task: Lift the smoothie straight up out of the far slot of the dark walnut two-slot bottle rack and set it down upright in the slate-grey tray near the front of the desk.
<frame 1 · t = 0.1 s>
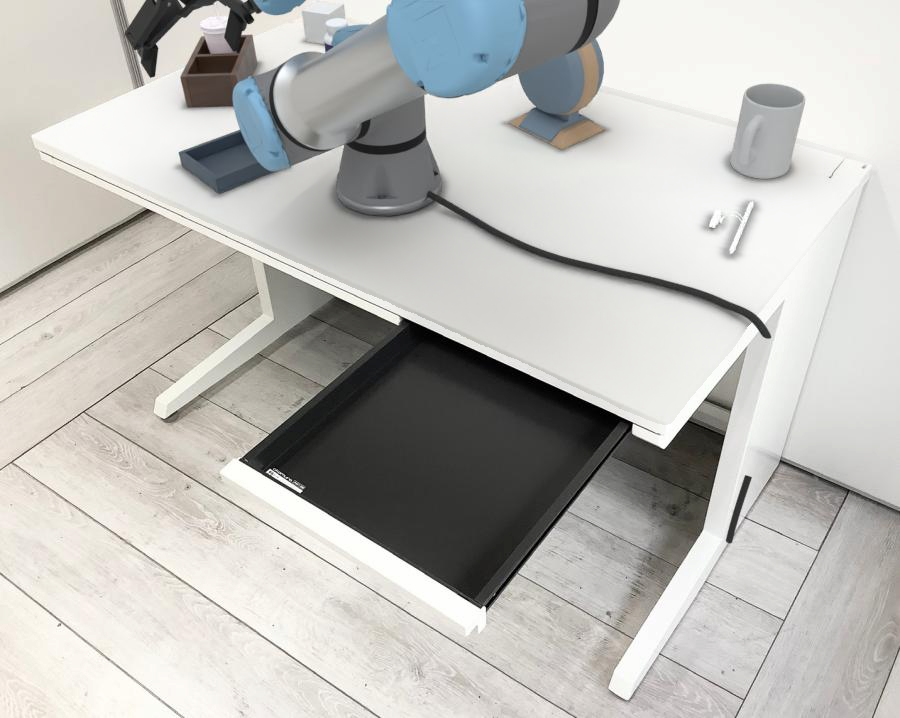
hand: (190, 56, 131), 15 cm above the table, tool tilted 35°, fingers open, 13 cm apart
rack: (223, 84, 160), on the table
white cube: (326, 39, 176), on the table
mug: (754, 170, 132), on the table
alarm clock: (556, 127, 144), on the table
pill bottle: (342, 71, 164), on the table
smoothie: (228, 75, 164), resting in rack
tray: (232, 167, 137), on the table
picture light: (727, 227, 121), on the table
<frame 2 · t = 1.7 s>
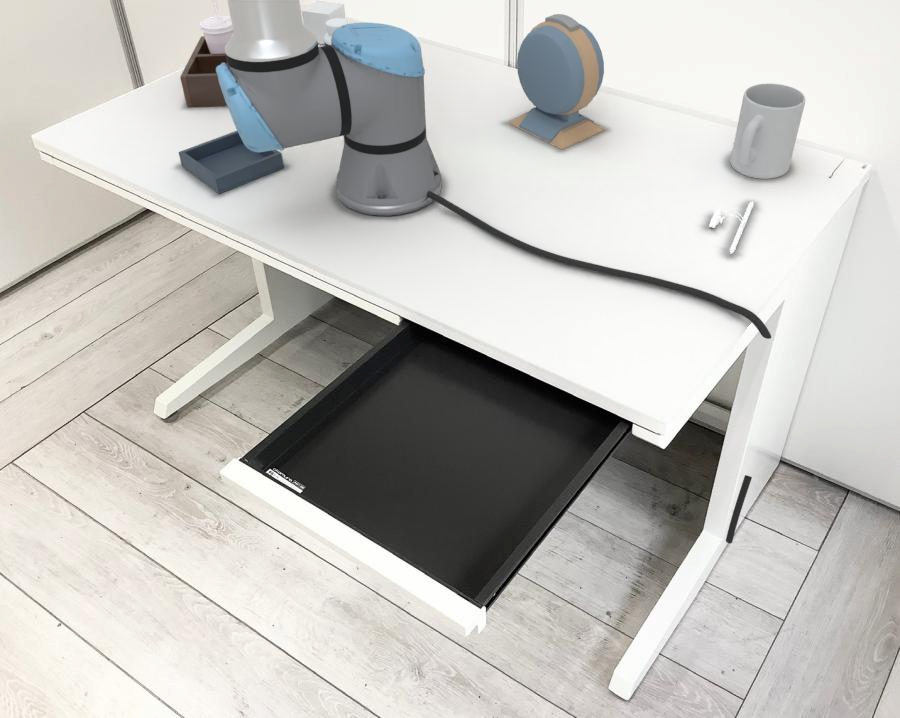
nothing on the table moved.
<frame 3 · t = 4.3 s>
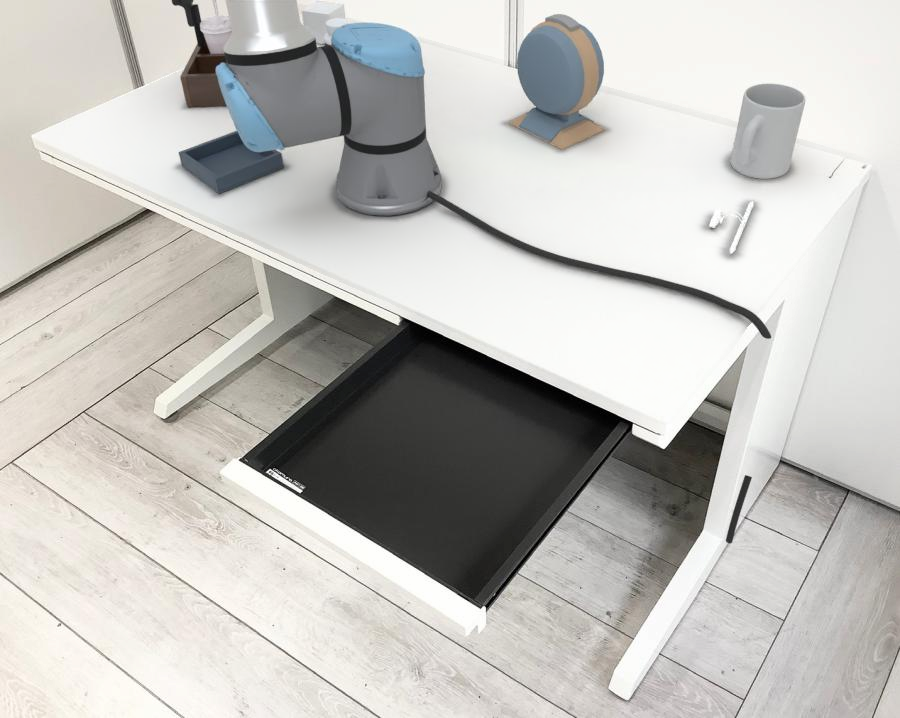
hand: (221, 42, 160), 6 cm above the table, tool pointing down, fingers closed on smoothie, 6 cm apart
smoothie: (228, 75, 164), resting in rack, touching gripper
everything else where it was.
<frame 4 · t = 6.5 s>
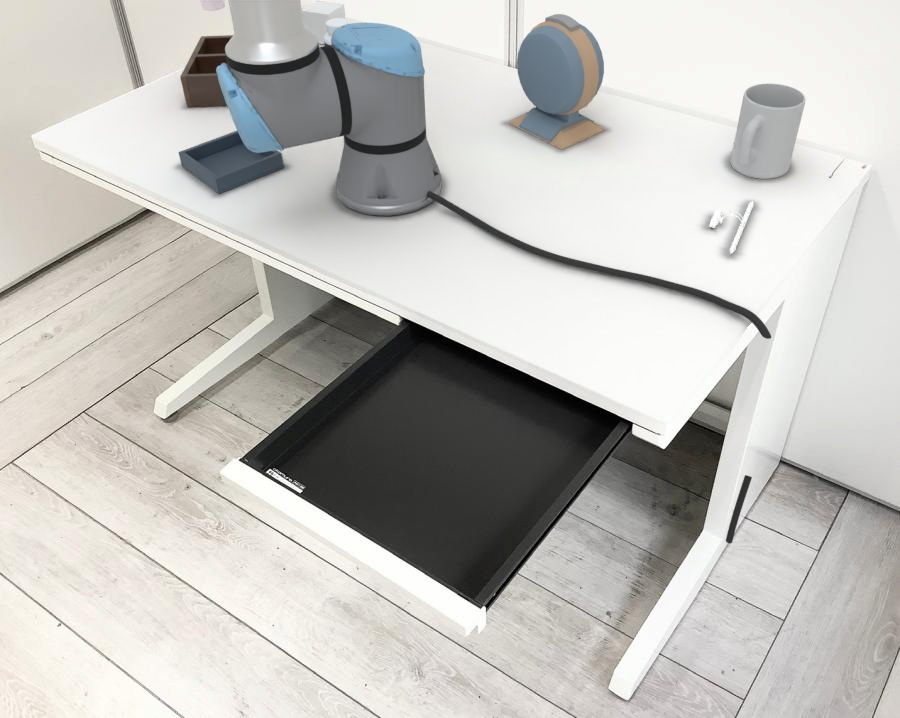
smoothie: (214, 8, 153), point 13 cm above the table, touching gripper
everything else where it was.
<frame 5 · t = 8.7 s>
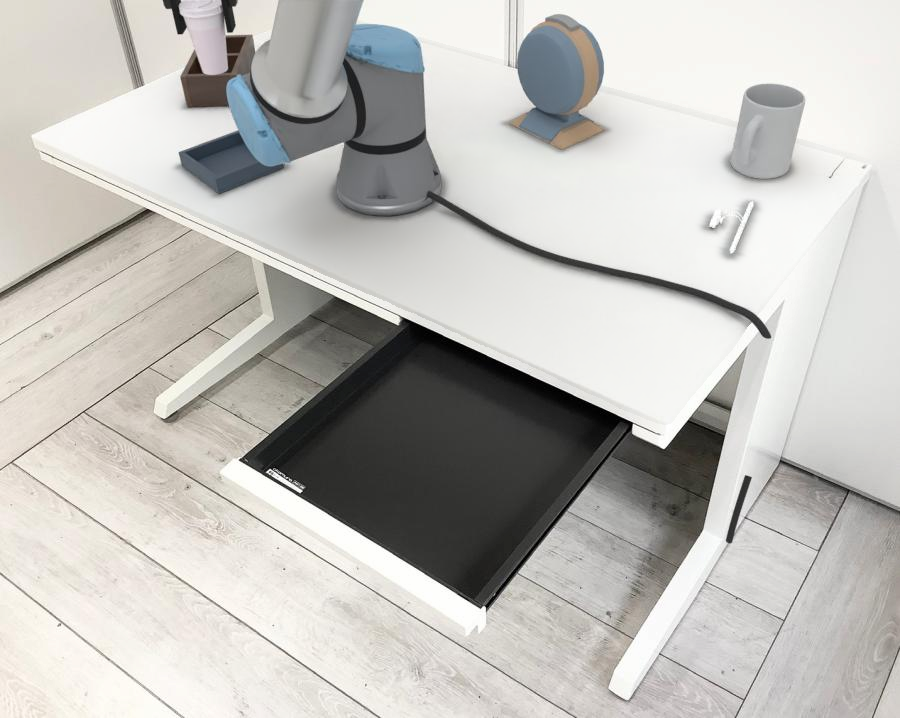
hand: (206, 29, 127), 20 cm above the table, tool pointing down, fingers closed on smoothie, 6 cm apart
smoothie: (215, 71, 131), point 14 cm above the table, touching gripper
everything else where it was.
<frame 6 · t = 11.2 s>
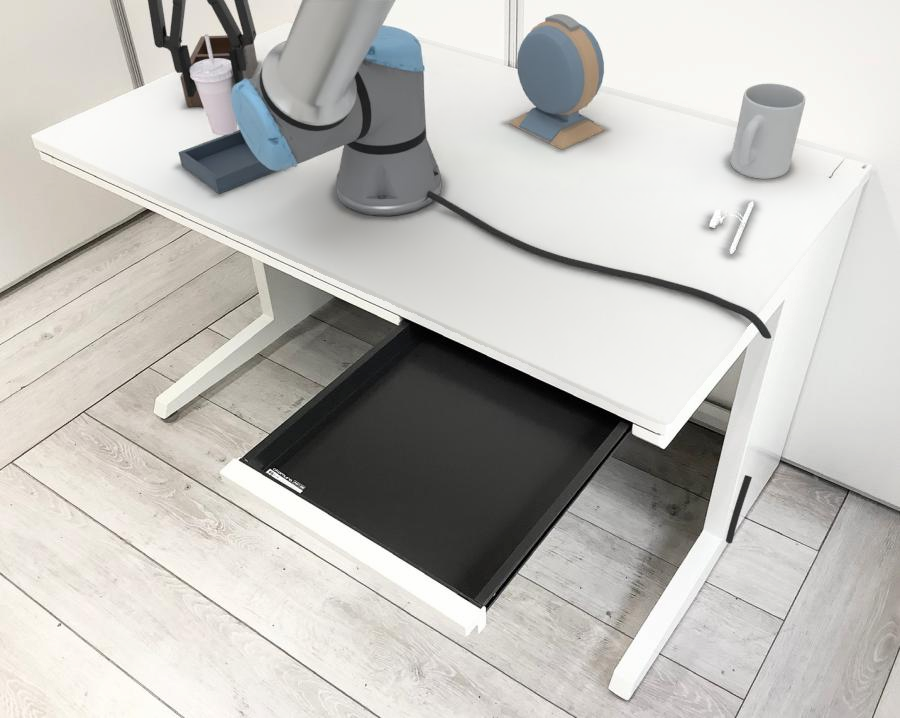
hand: (216, 91, 129), 12 cm above the table, tool pointing down, fingers closed on smoothie, 6 cm apart
smoothie: (225, 130, 133), point 6 cm above the table, touching gripper
everything else where it was.
when the fingers open (6 cm above the table, at t = 13.2 s): smoothie stays where it is, resting on tray.
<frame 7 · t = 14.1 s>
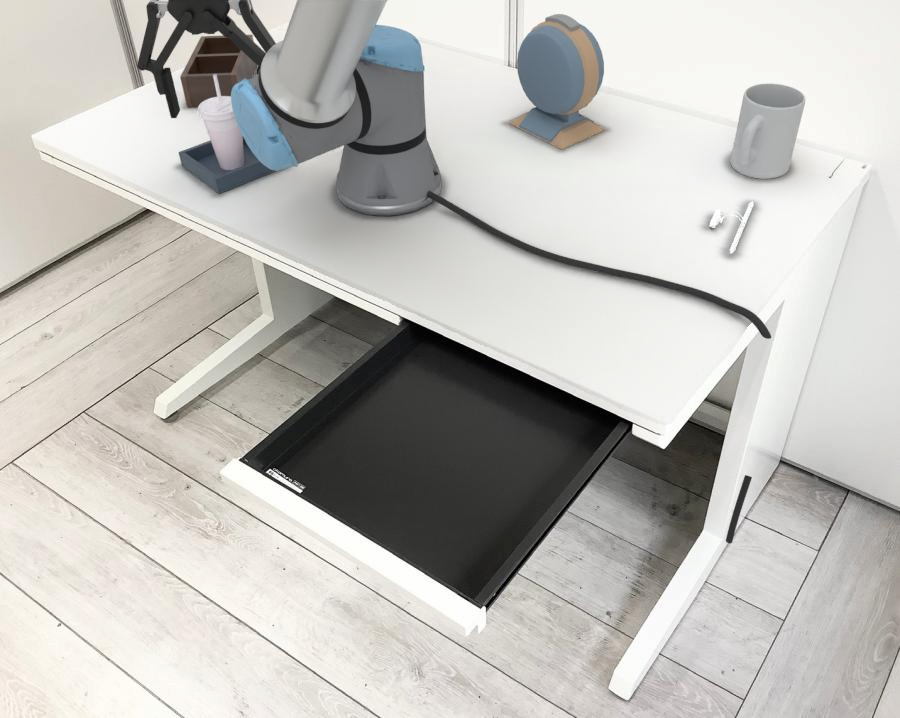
hand: (221, 112, 131), 9 cm above the table, tool pointing down, fingers open, 13 cm apart
smoothie: (232, 165, 137), resting on tray
everything else where it was.
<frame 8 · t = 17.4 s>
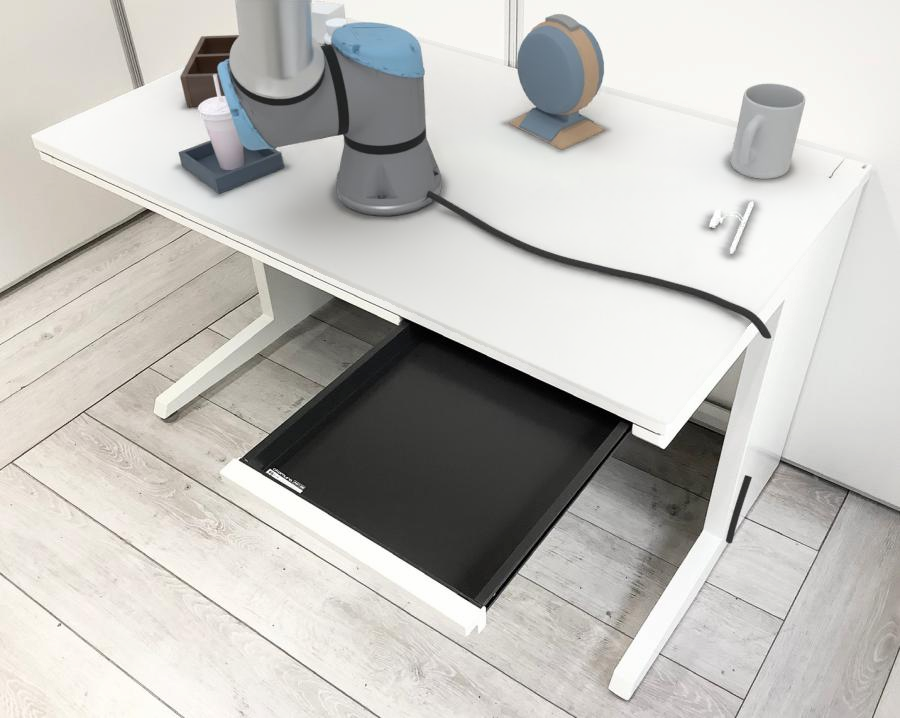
nothing on the table moved.
at the end: smoothie inside the target area in the tray (0.0 cm from its centre), point 0.3 cm above the tray's base; smoothie tilted 0°; the gripper is holding nothing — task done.
